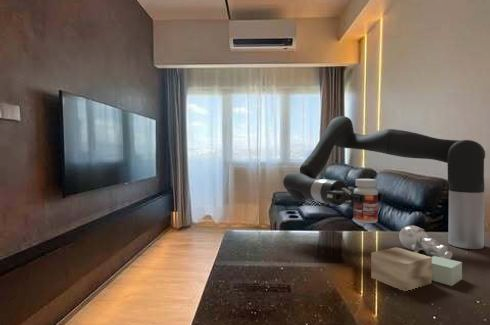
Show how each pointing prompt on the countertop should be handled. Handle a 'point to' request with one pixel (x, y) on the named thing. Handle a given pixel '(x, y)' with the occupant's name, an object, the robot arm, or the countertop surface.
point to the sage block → (446, 270)
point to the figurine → (422, 242)
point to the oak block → (401, 268)
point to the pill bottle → (366, 201)
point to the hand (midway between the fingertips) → (373, 198)
